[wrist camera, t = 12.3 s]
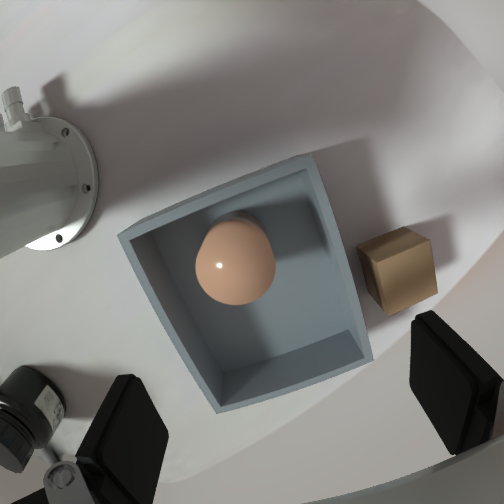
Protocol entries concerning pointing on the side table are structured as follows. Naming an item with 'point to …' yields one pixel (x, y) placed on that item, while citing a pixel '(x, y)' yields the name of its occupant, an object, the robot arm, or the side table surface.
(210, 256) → the peach domed capsule
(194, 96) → the side table surface
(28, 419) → the ink bottle
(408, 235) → the walnut cube
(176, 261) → the tote
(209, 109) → the side table surface
